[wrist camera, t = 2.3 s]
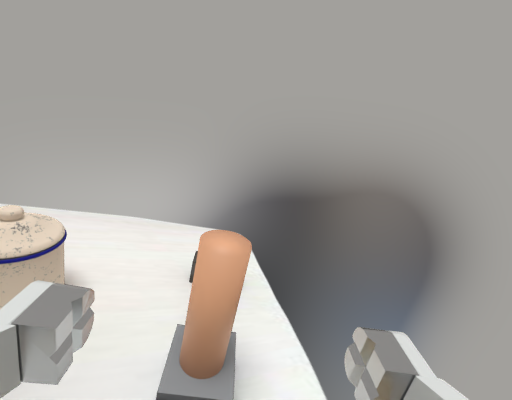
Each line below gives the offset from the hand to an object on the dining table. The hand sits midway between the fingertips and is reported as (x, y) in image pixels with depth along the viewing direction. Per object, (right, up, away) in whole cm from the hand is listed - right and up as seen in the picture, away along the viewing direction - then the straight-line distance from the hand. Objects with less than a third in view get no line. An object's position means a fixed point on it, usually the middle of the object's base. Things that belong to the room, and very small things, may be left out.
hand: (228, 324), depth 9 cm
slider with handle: (-5, -14, +18) cm, 23 cm away
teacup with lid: (-27, -8, +22) cm, 36 cm away
